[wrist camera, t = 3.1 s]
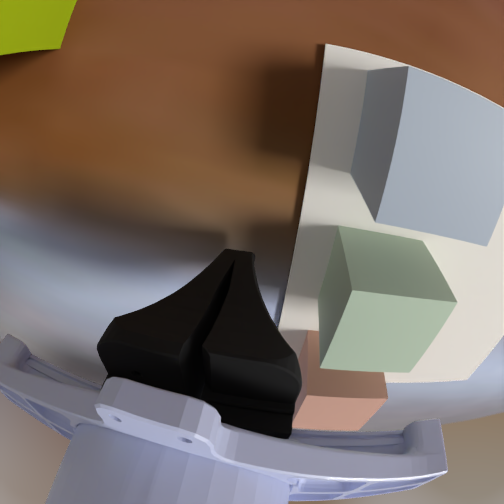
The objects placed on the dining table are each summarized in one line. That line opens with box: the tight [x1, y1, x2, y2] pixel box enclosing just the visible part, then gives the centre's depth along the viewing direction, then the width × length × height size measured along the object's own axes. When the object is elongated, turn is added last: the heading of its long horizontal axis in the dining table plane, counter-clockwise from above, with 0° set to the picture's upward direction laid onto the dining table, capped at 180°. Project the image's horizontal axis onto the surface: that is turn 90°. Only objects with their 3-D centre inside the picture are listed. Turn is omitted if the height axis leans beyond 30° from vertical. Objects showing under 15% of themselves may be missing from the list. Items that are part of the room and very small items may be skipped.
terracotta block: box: [292, 330, 388, 431], centre depth 16 cm, size 4×4×4 cm
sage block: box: [318, 225, 458, 373], centre depth 12 cm, size 4×4×4 cm
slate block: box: [350, 66, 504, 247], centre depth 8 cm, size 4×4×4 cm
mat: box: [278, 44, 504, 383], centre depth 14 cm, size 20×18×1 cm
